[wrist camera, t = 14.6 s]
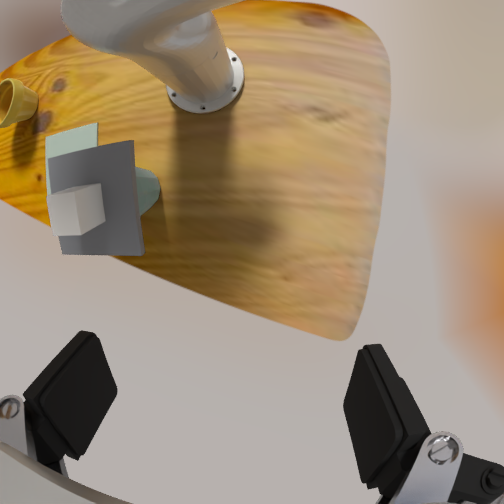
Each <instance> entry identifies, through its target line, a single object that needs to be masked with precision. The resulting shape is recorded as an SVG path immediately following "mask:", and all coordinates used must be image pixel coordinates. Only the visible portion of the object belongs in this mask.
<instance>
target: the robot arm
mask: <svg viewBox="0 0 504 504" xmlns="http://www.w3.org/2000/svg"><path fill="white" fill-rule="evenodd" d="M241 1H245V0H62V1H61V6H60V11H61V18H62V20H63V23H64V25H65V27H66V29H67V30H68V31H69V32H70V34H71V35H72V36H73V37H74V38H76V39H77V40H78V41H80V42H81V43H83V44H84V45H86V46H88V47H91V48H93V49H95V50H98V51H101V52H104V53H108V54H112V55H117V56H121V57H125V58H128V59H130V60H132V61H134V62H135V63H137V64H139V65H140V66H141V67H143V68H144V69H146V70H147V71H148V72H150V73H151V74H152V75H154V76H155V77H157V78H158V79H159V80H161V81H162V82H163V83H165V84H166V89H167V93H168V95H169V97H170V99H171V100H172V101H173V102H174V103H175V104H176V105H177V106H178V107H180V108H181V109H183V110H185V111H188V112H191V113H197V114H203V113H210V112H214V111H217V110H220V109H222V108H223V107H225V106H227V105H228V104H229V103H231V102H232V101H233V100H234V99H235V98H236V96H237V95H238V94H239V92H240V90H241V89H242V86H243V83H244V68H243V65H242V62H241V60H240V58H239V57H238V56H237V55H236V54H235V53H234V52H233V51H232V50H230V49H228V48H226V46H225V43H224V40H223V38H222V35H221V32H220V29H219V27H218V24H217V21H216V19H215V17H214V15H213V14H212V12H211V11H212V10H215V9H218V8H221V7H224V6H228V5H231V4H234V3H238V2H241ZM234 60H236V61H235V62H233V61H234ZM233 90H236V92H233ZM175 95H176V97H174V96H175ZM204 107H205V110H203V108H204ZM116 395H117V386H116V384H115V381H114V378H113V376H112V373H111V371H110V368H109V366H108V363H107V360H106V357H105V354H104V351H103V348H102V345H101V342H100V339H99V338H98V337H97V336H96V334H95V333H93V332H88V331H80V332H78V334H77V335H76V336H75V337H74V338H73V339H72V340H71V341H70V342H69V343H68V344H67V345H66V346H65V347H64V348H63V349H62V350H61V352H60V353H59V354H58V355H57V356H56V357H55V358H54V359H53V360H52V361H51V362H50V363H49V365H48V366H47V367H46V368H45V369H44V370H43V371H42V373H41V374H40V375H39V376H38V377H37V378H36V379H35V380H34V382H33V383H32V384H31V385H30V386H29V387H28V389H27V390H26V391H25V392H24V393H23V396H24V397H25V399H26V400H25V402H23V400H22V399H21V398H20V397H19V396H16V395H9V396H5V397H4V398H2V399H1V400H0V504H132V503H129V502H126V501H123V500H120V499H117V498H114V497H112V496H109V495H106V494H103V493H101V492H98V491H96V490H93V489H91V488H89V487H86V486H84V485H81V484H80V483H78V482H75V481H73V480H71V479H69V477H68V474H67V470H66V467H65V463H64V459H63V456H64V455H65V454H66V455H67V456H68V457H71V458H73V459H75V460H77V461H78V460H79V458H80V456H81V455H84V454H85V452H86V450H87V448H88V446H89V444H90V443H91V440H92V439H93V437H94V435H95V433H96V431H97V430H98V428H99V426H100V424H101V422H102V420H103V419H104V417H105V415H106V413H107V411H108V410H109V408H110V406H111V404H112V403H113V401H114V399H115V397H116ZM343 408H344V413H345V417H346V421H347V424H348V428H349V432H350V436H351V440H352V444H353V448H354V452H355V457H356V461H357V465H358V470H359V474H360V478H361V481H362V483H366V484H367V488H368V489H372V488H376V487H378V489H379V492H380V494H381V496H380V498H379V499H378V501H377V502H376V504H504V467H503V466H502V465H500V464H497V463H493V462H490V461H487V460H483V459H480V458H477V457H474V456H471V455H468V454H465V453H463V446H462V443H461V441H460V440H459V438H457V437H456V436H455V435H454V434H452V433H449V432H443V431H441V432H436V433H433V434H431V432H430V430H429V428H428V426H427V424H426V421H425V419H424V417H423V415H422V413H421V411H420V409H419V408H418V406H417V404H416V402H415V400H414V398H413V396H412V394H411V392H410V390H409V388H408V386H407V385H406V383H405V381H404V380H403V378H401V377H399V376H398V374H397V372H396V370H395V368H394V366H393V364H392V363H391V361H390V359H389V357H388V355H387V354H386V352H385V350H384V348H383V347H382V345H381V344H371V345H365V346H364V347H363V349H361V350H359V351H358V353H357V357H356V361H355V365H354V368H353V372H352V376H351V379H350V383H349V386H348V389H347V393H346V396H345V399H344V404H343Z"/></svg>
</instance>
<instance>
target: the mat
mask: <svg viewBox="0 0 504 504" xmlns="http://www.w3.org/2000/svg"><path fill="white" fill-rule="evenodd" d="M97 146H98V123H93V124H89V125H85V126H82V127H78V128H74V129H71V130H67V131H64V132H61V133H57V134H54V135H51V136H48V137H46V181H47V195H51V188H50V179H49V169H48V158H52V157H56V156H59V155H63V154H67V153H71V152H75V151H79V150H83V149H88V148H92V147H97Z"/></svg>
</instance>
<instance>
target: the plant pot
mask: <svg viewBox="0 0 504 504" xmlns="http://www.w3.org/2000/svg"><path fill="white" fill-rule="evenodd" d="M37 106H38V95H37V93H36V92H35V91H33V90H31V89H29V88H27V87H26V86H24V85H23V83H22V82H21V81H20V80H16V79H11V78H7V79H5V80H3V81H2V82H1V83H0V128H5V127H8V126H10V125H11V124H12V123H16V122H20V121H24V120H28V119H30V118H31V117H32V116H33V115H34V113H35V111H36V109H37Z"/></svg>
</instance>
